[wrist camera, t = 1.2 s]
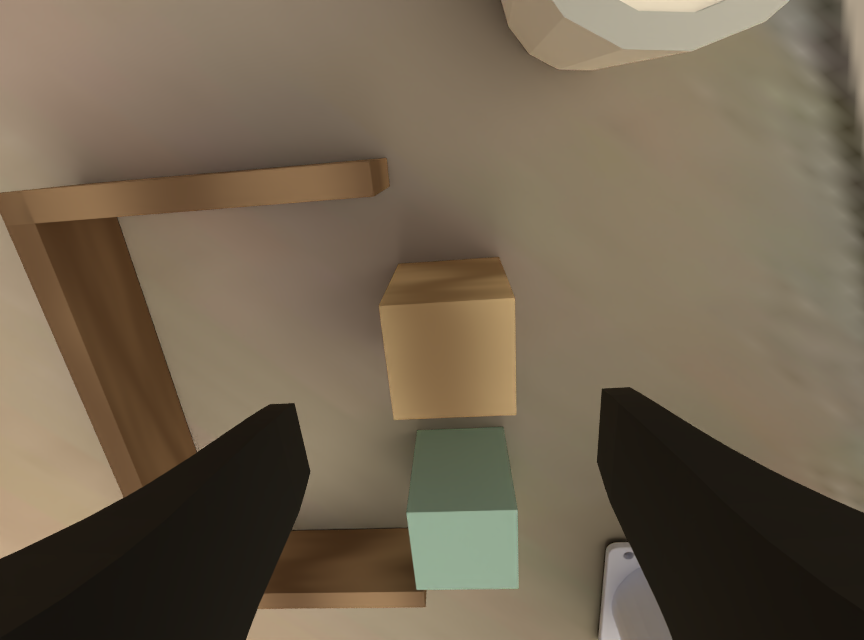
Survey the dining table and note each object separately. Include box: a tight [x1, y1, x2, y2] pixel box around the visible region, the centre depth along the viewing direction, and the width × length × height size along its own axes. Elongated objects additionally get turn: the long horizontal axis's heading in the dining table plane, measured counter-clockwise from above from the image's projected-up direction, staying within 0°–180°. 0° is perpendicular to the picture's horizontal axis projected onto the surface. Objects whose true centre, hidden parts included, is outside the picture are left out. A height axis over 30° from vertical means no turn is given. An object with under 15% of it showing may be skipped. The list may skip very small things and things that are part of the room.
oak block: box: [379, 257, 516, 420], centre depth 16 cm, size 4×4×5 cm
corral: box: [0, 158, 426, 609], centre depth 18 cm, size 12×19×4 cm, turn 5°
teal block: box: [406, 427, 519, 590], centre depth 19 cm, size 4×4×5 cm
